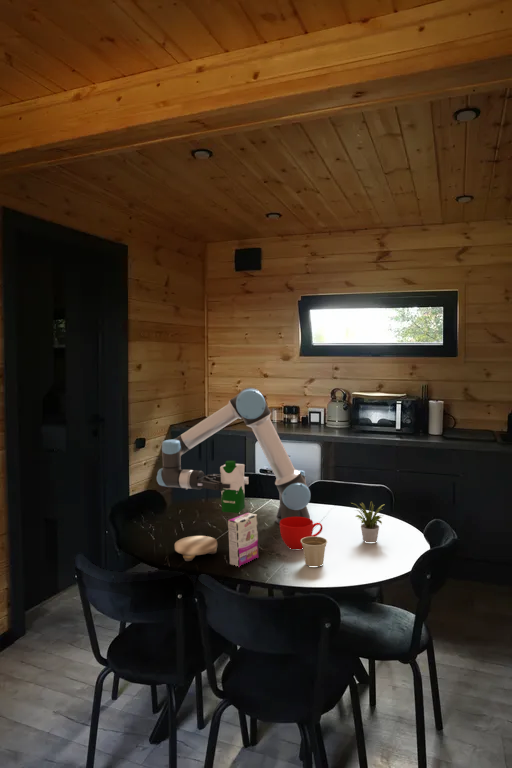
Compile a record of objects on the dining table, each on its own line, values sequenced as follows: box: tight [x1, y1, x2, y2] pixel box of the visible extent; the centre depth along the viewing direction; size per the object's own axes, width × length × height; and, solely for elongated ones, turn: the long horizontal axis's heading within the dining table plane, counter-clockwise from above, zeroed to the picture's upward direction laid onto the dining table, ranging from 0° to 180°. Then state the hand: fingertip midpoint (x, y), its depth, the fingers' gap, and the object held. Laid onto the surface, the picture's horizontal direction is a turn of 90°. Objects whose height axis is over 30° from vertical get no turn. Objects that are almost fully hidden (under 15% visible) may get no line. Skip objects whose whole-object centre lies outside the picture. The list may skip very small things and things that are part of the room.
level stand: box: [174, 535, 218, 562], centre depth 199 cm, size 16×16×4 cm
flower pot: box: [301, 535, 328, 567], centre depth 186 cm, size 9×9×9 cm
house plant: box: [351, 501, 386, 543], centre depth 207 cm, size 14×14×16 cm
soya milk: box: [219, 459, 246, 514], centre depth 208 cm, size 9×9×20 cm
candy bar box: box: [227, 512, 260, 568], centre depth 190 cm, size 11×5×16 cm, turn 139°
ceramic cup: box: [279, 517, 323, 550], centre depth 203 cm, size 13×17×10 cm
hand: (243, 483), depth 207 cm, fingers closed on soya milk, 9 cm apart
